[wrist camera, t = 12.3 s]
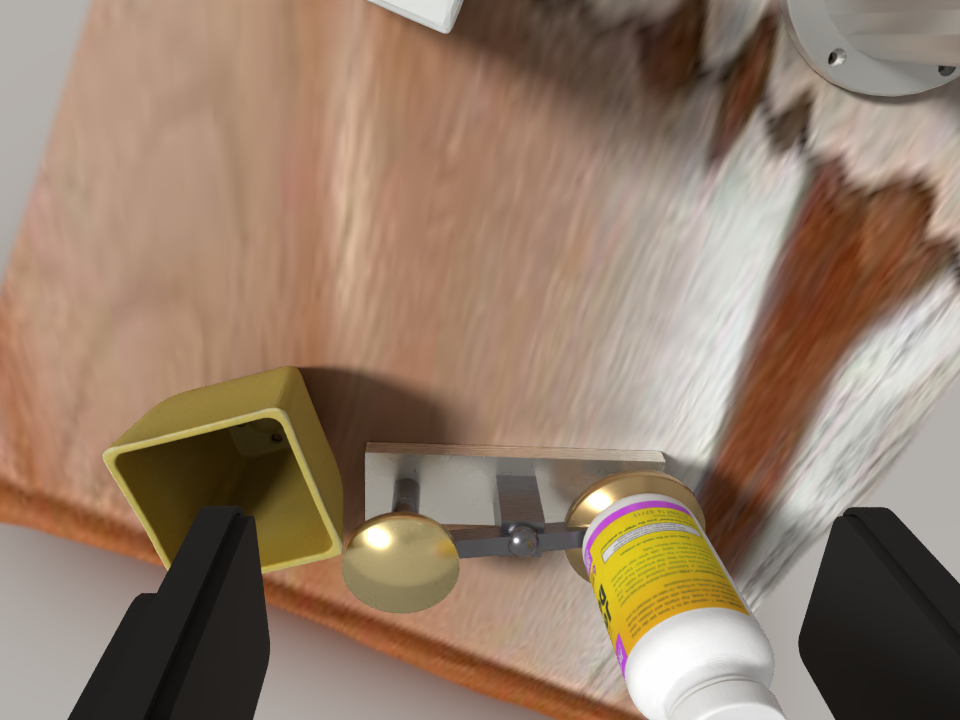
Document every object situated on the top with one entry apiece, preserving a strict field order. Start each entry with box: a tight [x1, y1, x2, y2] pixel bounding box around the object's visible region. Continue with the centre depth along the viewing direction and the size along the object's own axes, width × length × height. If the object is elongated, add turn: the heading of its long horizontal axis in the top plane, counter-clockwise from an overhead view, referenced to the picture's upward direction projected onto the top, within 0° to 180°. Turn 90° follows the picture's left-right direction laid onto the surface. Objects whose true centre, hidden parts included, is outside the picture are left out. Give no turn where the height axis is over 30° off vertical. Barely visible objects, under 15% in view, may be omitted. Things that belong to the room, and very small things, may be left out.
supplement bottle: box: [582, 493, 787, 720], centre depth 34 cm, size 7×7×13 cm
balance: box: [342, 442, 705, 613], centre depth 41 cm, size 20×8×8 cm, turn 86°
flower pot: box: [103, 366, 343, 574], centre depth 38 cm, size 9×9×9 cm
